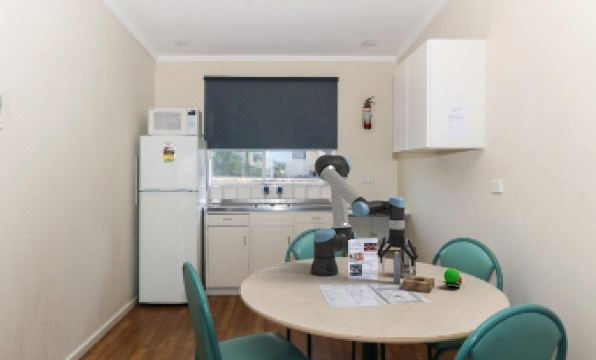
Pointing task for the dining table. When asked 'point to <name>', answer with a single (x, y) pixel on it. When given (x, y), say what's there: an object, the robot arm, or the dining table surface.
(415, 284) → the bead block
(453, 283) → the toy
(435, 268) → the dining table surface
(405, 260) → the coffee box
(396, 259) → the needle dowel
